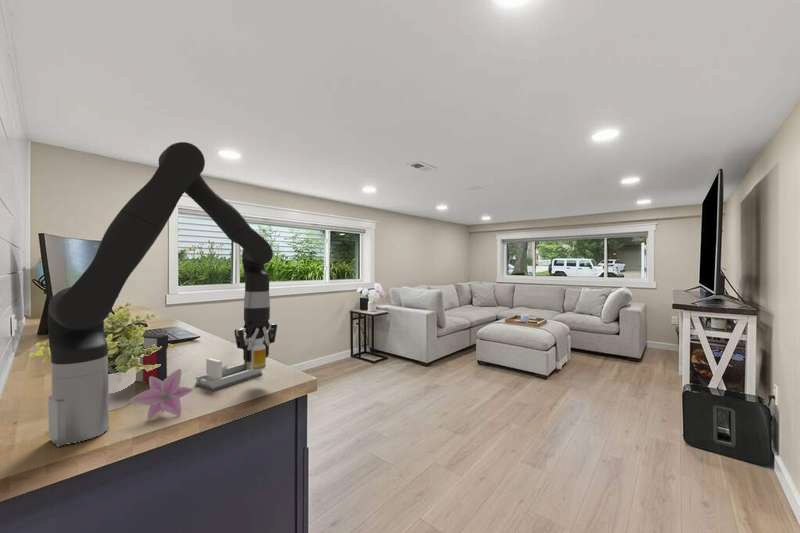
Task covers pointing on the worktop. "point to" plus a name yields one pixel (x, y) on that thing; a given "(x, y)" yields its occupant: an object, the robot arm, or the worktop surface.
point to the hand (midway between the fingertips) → (256, 359)
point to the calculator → (154, 358)
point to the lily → (163, 395)
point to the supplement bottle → (257, 356)
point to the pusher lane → (228, 377)
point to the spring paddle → (214, 369)
